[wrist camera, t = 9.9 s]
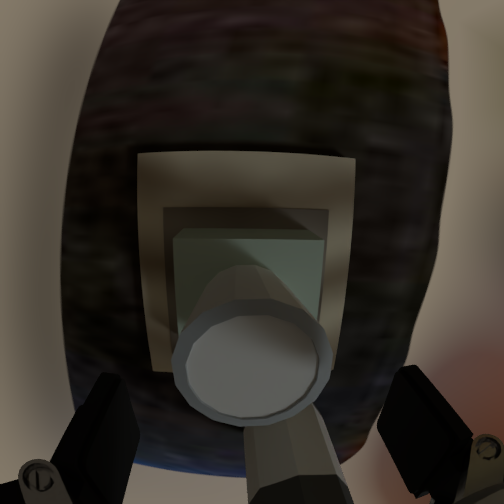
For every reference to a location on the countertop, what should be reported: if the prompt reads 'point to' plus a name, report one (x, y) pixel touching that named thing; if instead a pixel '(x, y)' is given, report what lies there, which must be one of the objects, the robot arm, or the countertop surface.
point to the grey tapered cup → (250, 350)
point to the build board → (239, 221)
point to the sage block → (246, 261)
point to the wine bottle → (293, 462)
